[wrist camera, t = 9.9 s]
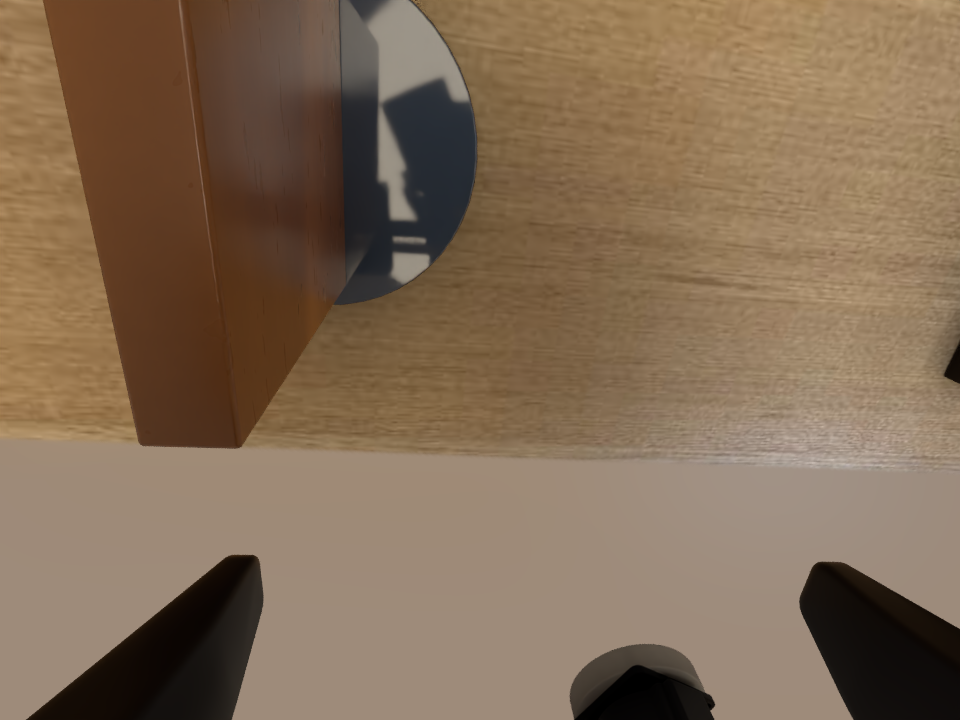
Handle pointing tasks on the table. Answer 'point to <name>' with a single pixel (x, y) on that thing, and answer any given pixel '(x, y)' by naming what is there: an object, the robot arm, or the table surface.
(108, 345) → the table surface
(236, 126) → the brown wooden flat block
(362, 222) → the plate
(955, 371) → the slotted dark tray
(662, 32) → the table surface
